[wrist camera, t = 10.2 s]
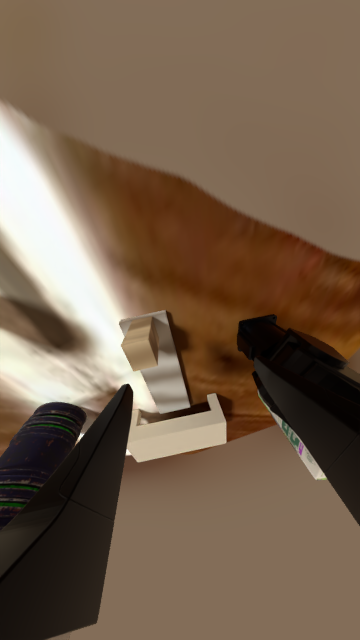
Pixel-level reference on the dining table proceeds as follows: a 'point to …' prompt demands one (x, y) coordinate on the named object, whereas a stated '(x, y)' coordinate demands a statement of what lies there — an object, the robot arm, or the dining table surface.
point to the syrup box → (298, 446)
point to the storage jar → (36, 454)
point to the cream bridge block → (177, 433)
